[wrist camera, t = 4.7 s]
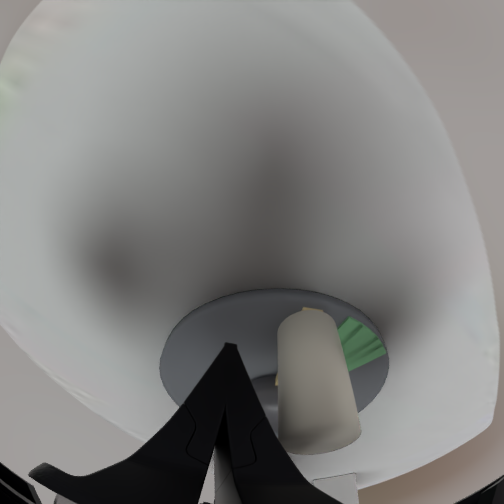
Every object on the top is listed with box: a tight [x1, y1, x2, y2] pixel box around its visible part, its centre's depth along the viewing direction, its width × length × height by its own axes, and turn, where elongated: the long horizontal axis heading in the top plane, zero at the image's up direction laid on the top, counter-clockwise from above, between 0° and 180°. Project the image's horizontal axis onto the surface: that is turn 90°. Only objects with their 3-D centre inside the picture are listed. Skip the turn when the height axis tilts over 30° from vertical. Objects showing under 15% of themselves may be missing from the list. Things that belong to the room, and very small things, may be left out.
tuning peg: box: [251, 307, 361, 455], centre depth 11 cm, size 9×4×6 cm, turn 169°
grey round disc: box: [159, 289, 389, 438], centre depth 15 cm, size 14×14×1 cm
